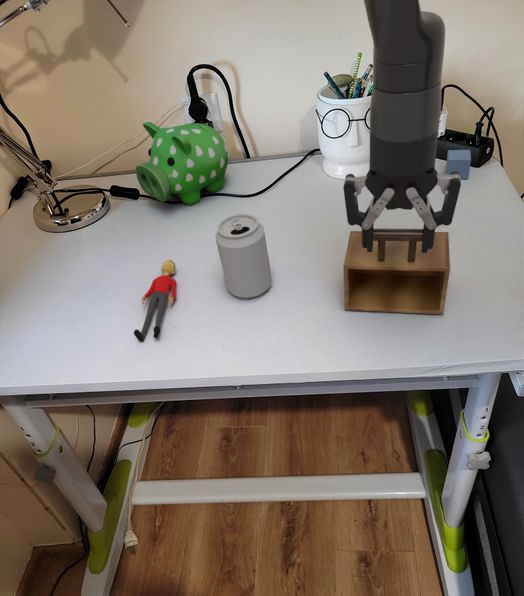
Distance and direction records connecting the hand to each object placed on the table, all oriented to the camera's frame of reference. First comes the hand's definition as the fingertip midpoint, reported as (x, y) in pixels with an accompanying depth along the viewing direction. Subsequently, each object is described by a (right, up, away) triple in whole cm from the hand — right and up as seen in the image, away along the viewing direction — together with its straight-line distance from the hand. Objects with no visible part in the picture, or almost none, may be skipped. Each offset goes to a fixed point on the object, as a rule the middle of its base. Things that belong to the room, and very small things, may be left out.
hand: (397, 249), depth 68 cm
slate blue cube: (+20, +21, +30) cm, 41 cm away
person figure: (-35, -6, +15) cm, 38 cm away
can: (-20, -3, +15) cm, 25 cm away
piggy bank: (-33, +20, +40) cm, 55 cm away
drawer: (+2, -5, +9) cm, 10 cm away
